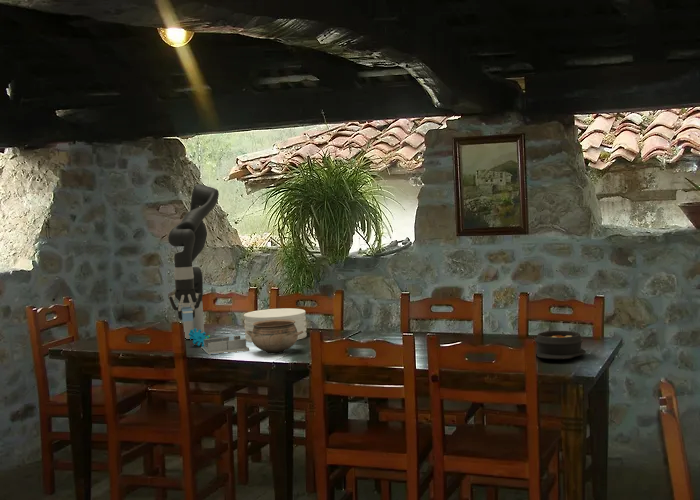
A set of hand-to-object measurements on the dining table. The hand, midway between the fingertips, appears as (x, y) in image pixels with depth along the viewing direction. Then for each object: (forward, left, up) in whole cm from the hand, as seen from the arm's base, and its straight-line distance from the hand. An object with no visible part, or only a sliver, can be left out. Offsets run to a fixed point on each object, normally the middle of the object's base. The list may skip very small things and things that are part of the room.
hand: (186, 319), depth 316 cm
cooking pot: (+15, +33, -15) cm, 39 cm away
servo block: (0, 0, 0) cm, 0 cm away
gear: (-20, +9, -15) cm, 27 cm away
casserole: (+87, +119, -15) cm, 148 cm away
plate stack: (-21, +43, -15) cm, 50 cm away
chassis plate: (-3, +16, -15) cm, 22 cm away
